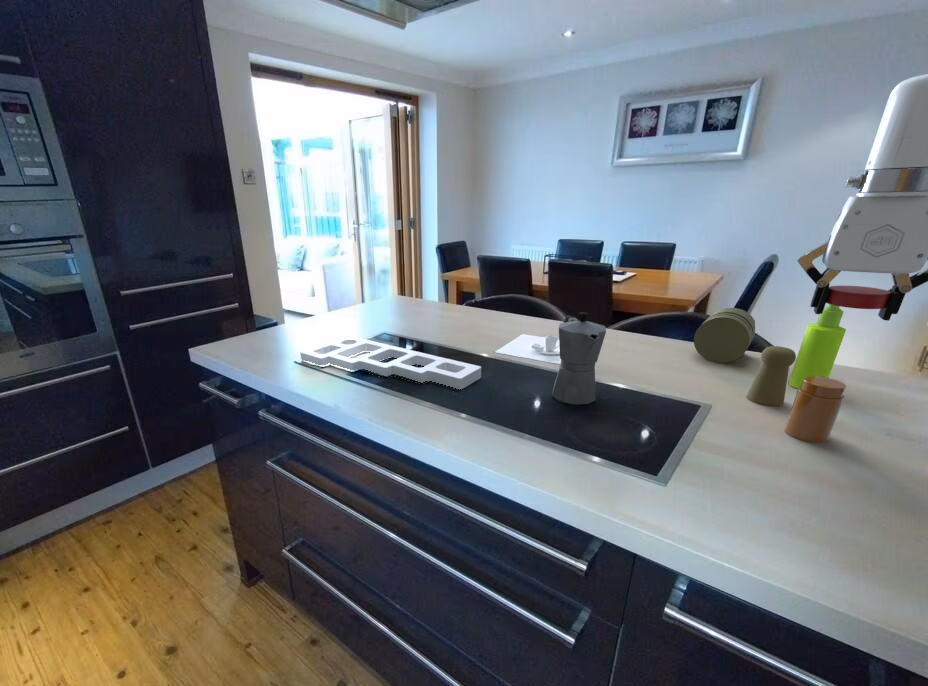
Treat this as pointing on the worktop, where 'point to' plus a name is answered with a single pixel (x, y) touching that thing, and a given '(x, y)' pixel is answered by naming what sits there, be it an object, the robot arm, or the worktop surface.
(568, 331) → the coffeepot
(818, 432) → the jam jar
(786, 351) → the cork
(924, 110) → the robot arm
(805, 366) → the soap dispenser
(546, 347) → the teacup and saucer
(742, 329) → the piston
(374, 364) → the holder
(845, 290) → the jam lid
